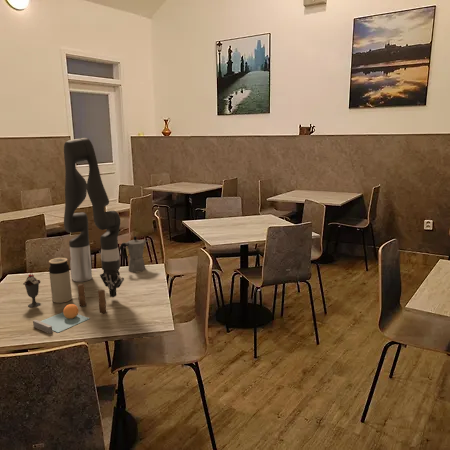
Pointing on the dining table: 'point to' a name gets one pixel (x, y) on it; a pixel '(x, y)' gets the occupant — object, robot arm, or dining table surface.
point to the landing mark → (63, 322)
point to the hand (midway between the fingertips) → (113, 296)
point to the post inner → (81, 295)
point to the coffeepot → (135, 254)
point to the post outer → (102, 301)
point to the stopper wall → (42, 326)
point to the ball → (70, 311)
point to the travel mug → (60, 280)
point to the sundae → (32, 289)
